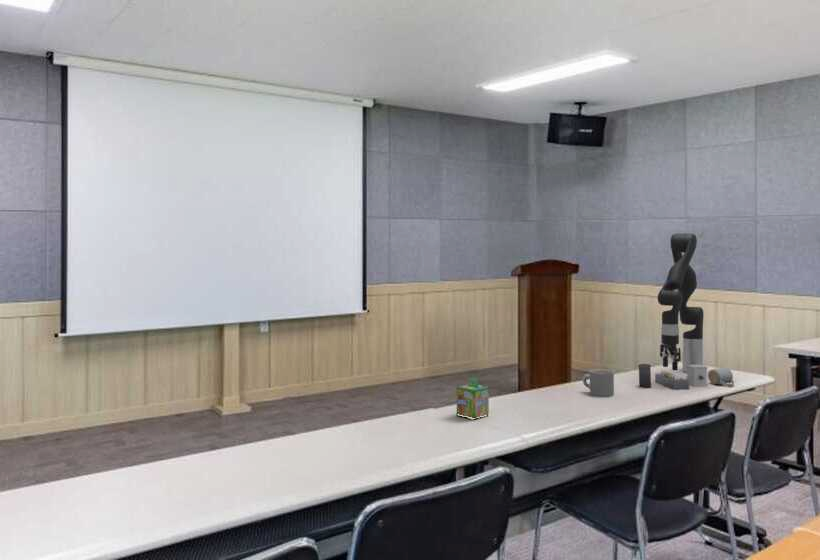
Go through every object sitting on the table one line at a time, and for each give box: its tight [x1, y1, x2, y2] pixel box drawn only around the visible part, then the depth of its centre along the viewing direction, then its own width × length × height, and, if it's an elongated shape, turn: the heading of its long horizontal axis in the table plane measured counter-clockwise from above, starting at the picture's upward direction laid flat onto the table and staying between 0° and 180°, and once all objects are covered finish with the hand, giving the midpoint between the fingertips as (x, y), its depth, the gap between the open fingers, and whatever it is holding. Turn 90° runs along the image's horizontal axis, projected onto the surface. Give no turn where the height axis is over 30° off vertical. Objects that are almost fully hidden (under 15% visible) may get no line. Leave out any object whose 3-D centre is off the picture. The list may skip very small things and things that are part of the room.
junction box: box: [686, 364, 708, 387], centre depth 290 cm, size 7×6×9 cm
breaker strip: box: [654, 370, 690, 391], centre depth 289 cm, size 17×7×6 cm, turn 6°
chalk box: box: [456, 376, 490, 418], centre depth 241 cm, size 9×9×15 cm
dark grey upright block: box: [637, 363, 652, 389], centre depth 287 cm, size 5×5×10 cm
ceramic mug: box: [707, 366, 734, 387], centre depth 289 cm, size 11×8×8 cm
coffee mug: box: [582, 368, 615, 398], centre depth 276 cm, size 13×10×10 cm
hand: (670, 368), depth 290 cm, fingers open, 8 cm apart
